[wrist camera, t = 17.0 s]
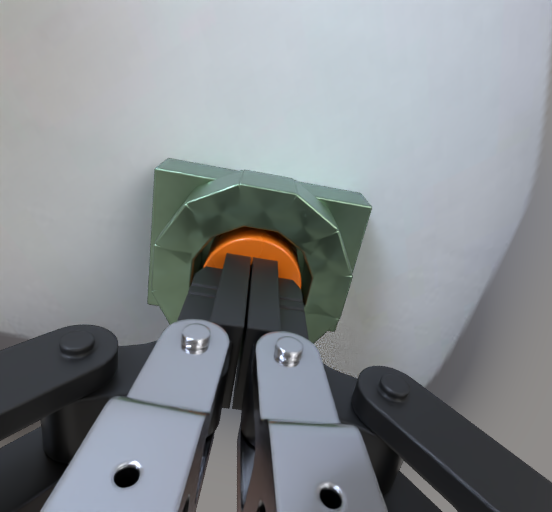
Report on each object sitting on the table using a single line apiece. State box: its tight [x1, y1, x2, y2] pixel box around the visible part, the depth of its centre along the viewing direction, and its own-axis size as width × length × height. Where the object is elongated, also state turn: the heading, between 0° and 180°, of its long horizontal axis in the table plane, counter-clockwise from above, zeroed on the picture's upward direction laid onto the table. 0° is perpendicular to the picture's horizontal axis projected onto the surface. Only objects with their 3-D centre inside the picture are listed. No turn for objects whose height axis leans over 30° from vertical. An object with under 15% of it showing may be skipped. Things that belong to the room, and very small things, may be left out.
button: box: [203, 226, 301, 289], centre depth 12 cm, size 3×3×2 cm
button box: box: [147, 158, 372, 344], centre depth 13 cm, size 7×6×4 cm
